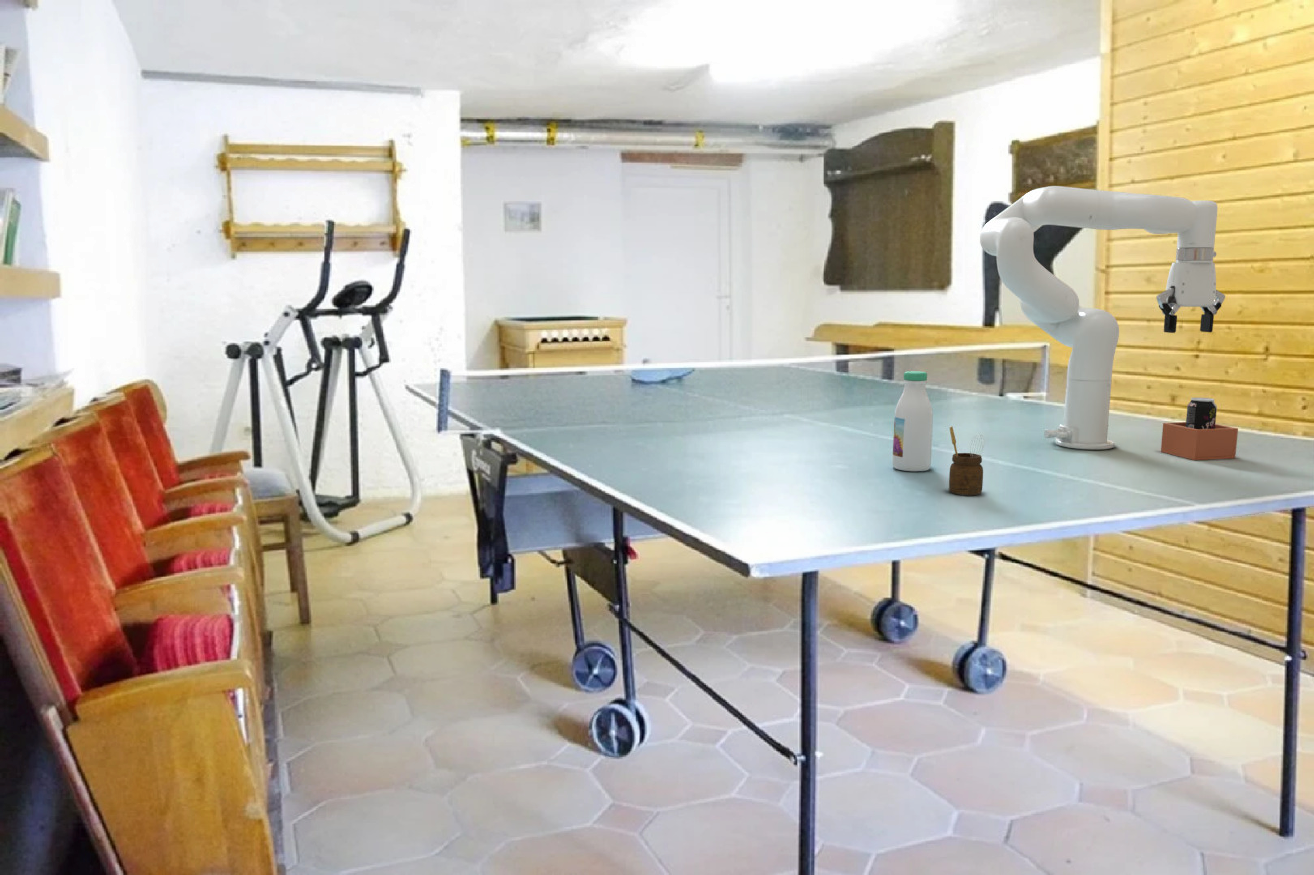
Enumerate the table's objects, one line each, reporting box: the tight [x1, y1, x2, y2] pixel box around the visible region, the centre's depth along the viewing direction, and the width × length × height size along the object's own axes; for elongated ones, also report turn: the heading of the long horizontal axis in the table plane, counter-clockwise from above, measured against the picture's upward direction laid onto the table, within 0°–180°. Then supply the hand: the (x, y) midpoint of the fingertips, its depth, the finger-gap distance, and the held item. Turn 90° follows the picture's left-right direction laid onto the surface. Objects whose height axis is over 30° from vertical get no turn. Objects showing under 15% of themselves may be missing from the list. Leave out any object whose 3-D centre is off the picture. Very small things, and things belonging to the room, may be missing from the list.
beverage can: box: [1185, 397, 1218, 429], centre depth 223 cm, size 6×6×12 cm
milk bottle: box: [891, 370, 934, 472], centre depth 207 cm, size 8×8×20 cm
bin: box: [1160, 421, 1239, 461], centre depth 224 cm, size 10×10×7 cm
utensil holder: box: [948, 426, 986, 496], centre depth 186 cm, size 6×6×12 cm
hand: (1187, 332), depth 232 cm, fingers open, 9 cm apart
